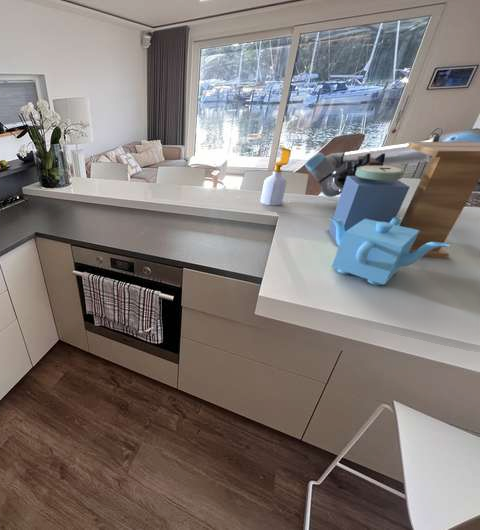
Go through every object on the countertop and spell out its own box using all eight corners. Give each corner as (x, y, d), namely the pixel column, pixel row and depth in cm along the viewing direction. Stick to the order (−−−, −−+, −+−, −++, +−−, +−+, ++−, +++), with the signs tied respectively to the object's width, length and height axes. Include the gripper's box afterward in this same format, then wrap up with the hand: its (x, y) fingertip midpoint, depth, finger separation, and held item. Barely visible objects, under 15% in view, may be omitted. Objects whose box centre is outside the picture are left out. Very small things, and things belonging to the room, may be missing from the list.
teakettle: (345, 289, 74) (366, 238, 67) (313, 255, 90) (328, 210, 83) (428, 292, 71) (460, 239, 64) (381, 256, 87) (402, 210, 80)
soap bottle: (255, 201, 136) (266, 146, 124) (271, 198, 139) (283, 144, 126) (269, 207, 129) (281, 149, 117) (286, 204, 131) (299, 146, 119)
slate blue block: (328, 231, 104) (347, 175, 94) (368, 234, 100) (392, 176, 90) (336, 245, 95) (358, 185, 85) (381, 249, 91) (409, 186, 81)
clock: (341, 164, 102) (344, 156, 100) (380, 165, 98) (383, 156, 96) (361, 179, 84) (365, 169, 83) (408, 181, 81) (413, 170, 79)
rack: (371, 233, 101) (409, 142, 86) (421, 237, 96) (471, 141, 81) (389, 254, 88) (438, 151, 73) (448, 259, 83) (514, 150, 68)
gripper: (368, 189, 109) (406, 170, 87) (319, 188, 115) (343, 169, 92) (371, 170, 109) (410, 145, 87) (322, 169, 114) (346, 146, 92)
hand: (375, 157), depth 90 cm, fingers closed on clock, 3 cm apart
